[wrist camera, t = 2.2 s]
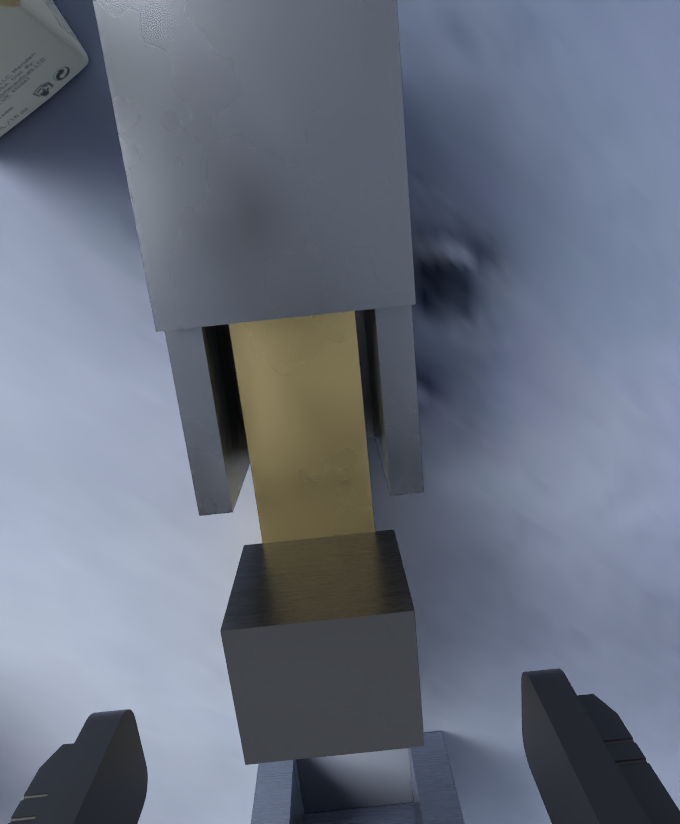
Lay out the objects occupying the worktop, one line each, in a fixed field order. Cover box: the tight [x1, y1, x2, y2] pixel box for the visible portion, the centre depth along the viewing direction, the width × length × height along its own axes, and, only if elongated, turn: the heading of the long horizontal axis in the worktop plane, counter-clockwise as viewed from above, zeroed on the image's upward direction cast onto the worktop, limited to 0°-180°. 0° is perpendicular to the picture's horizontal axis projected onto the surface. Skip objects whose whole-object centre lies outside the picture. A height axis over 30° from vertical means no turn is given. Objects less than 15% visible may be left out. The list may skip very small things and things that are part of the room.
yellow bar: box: [221, 311, 424, 765], centre depth 14 cm, size 18×4×6 cm, turn 6°
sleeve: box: [93, 0, 424, 516], centre depth 14 cm, size 10×5×6 cm, turn 6°
